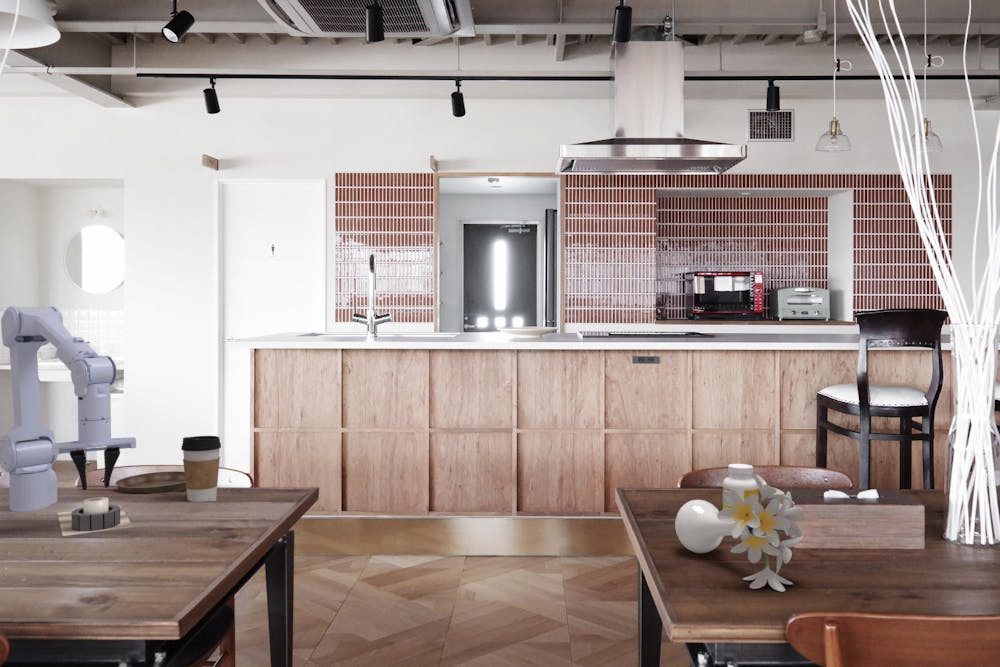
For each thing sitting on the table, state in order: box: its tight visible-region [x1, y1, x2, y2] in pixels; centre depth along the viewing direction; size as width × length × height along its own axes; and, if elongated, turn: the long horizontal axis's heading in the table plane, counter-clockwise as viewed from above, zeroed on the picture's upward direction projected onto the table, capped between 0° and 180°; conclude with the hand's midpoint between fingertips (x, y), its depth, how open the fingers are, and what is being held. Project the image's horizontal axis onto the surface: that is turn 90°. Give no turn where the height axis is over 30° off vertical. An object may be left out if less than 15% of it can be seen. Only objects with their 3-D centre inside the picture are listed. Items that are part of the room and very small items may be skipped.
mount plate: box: [57, 505, 133, 537], centre depth 159 cm, size 20×12×1 cm, turn 32°
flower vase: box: [674, 472, 805, 593], centre depth 132 cm, size 13×18×25 cm
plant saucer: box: [115, 470, 187, 494], centre depth 190 cm, size 18×18×3 cm
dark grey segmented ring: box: [71, 504, 120, 531], centre depth 154 cm, size 8×8×3 cm
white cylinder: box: [82, 496, 109, 514], centre depth 154 cm, size 4×4×5 cm
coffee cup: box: [180, 435, 222, 503], centre depth 176 cm, size 8×8×15 cm
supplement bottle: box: [722, 463, 759, 510], centre depth 153 cm, size 7×7×13 cm
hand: (95, 487), depth 154 cm, fingers open, 3 cm apart
